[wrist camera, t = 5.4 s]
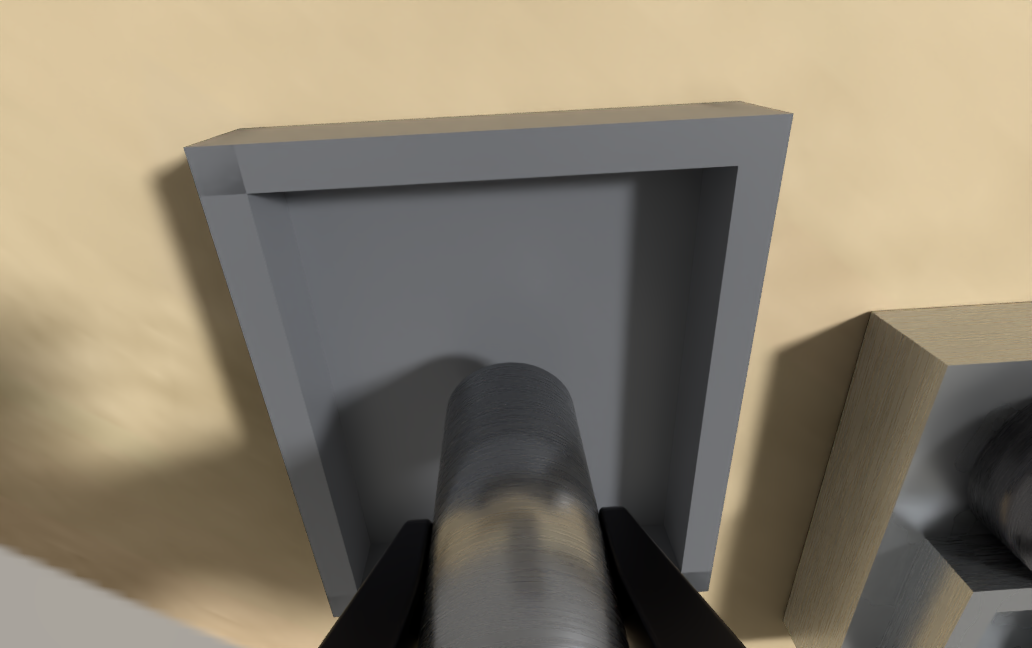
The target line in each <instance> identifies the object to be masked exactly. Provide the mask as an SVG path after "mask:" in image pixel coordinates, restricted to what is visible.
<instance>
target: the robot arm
mask: <svg viewBox="0 0 1032 648" xmlns="http://www.w3.org/2000/svg"><path fill="white" fill-rule="evenodd" d="M599 517H600V522H601V526H602V531H603V535H604V539H605V544H606V548H607V552H608V557H609V561H610V565H611V570H612V574H613V578H614V583H615V587H616V591H617V596H618V600H619V604H620V609H621V613H622V617H623V622H624V626H625V630H626V635H627V639H628V643H629V648H746V647H745V646H744V645H743V643H742V642H741V641H740V640H739V639H738V638H737V637H736V635H735V634H734V633H733V632H732V631H731V630H730V628H729V627H728V626H727V625H726V624H725V623H724V621H723V620H722V619H721V618H720V617H719V616H718V615H717V613H716V612H715V611H714V610H713V609H712V608H711V606H710V605H709V604H708V603H707V602H706V601H705V600H704V598H703V597H702V596H701V595H700V594H699V593H698V591H697V590H696V589H695V588H694V587H693V586H692V585H691V583H690V582H689V581H688V580H687V579H686V578H685V576H684V575H683V574H682V573H681V572H680V571H679V569H678V568H677V567H676V566H675V565H674V564H673V563H672V561H671V560H670V559H669V558H668V557H667V556H666V554H665V553H664V552H663V551H662V550H661V549H660V548H659V546H658V545H657V544H656V543H655V542H654V541H653V539H652V538H651V537H650V536H649V535H648V534H647V533H646V531H645V530H644V529H643V528H642V527H641V526H640V524H639V523H638V522H637V521H636V520H635V519H634V517H633V516H632V515H631V514H630V513H629V512H628V511H627V509H626V508H624V507H622V506H611V507H602V508H601V509H600V510H599ZM431 531H432V522H431V520H429V519H416V520H408V521H406V522H405V523H404V525H403V526H402V527H401V529H400V530H399V532H398V533H397V535H396V536H395V538H394V539H393V540H392V542H391V543H390V545H389V546H388V548H387V549H386V551H385V552H384V553H383V555H382V556H381V558H380V559H379V561H378V562H377V564H376V565H375V566H374V568H373V569H372V571H371V572H370V574H369V575H368V577H367V578H366V579H365V581H364V582H363V584H362V585H361V587H360V588H359V590H358V591H357V592H356V594H355V595H354V597H353V598H352V600H351V601H350V603H349V604H348V605H347V607H346V608H345V610H344V611H343V613H342V614H341V616H340V617H339V618H338V620H337V621H336V623H335V624H334V626H333V627H332V629H331V630H330V632H329V633H328V634H327V636H326V637H325V639H324V640H323V642H322V643H321V645H320V646H319V647H318V648H417V646H418V638H419V629H420V621H421V613H422V605H423V597H424V589H425V580H426V572H427V564H428V556H429V548H430V539H431Z"/></svg>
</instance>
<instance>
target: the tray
mask: <svg viewBox="0 0 1032 648" xmlns="http://www.w3.org/2000/svg"><path fill="white" fill-rule="evenodd" d="M792 119H793V113H789V112H784V111H780V110H776V109H771V108H767V107H763V106H758V105H754V104H750V103H745V102H741V101H731V102H713V103H695V104H676V105H658V106H640V107H622V108H604V109H586V110H568V111H549V112H531V113H513V114H495V115H477V116H459V117H441V118H422V119H404V120H386V121H368V122H350V123H332V124H314V125H295V126H277V127H259V128H241V129H237V130H234V131H231V132H228V133H225V134H222V135H219V136H216V137H213V138H210V139H207V140H204V141H201V142H198V143H195V144H192V145H189V146H186V147H183V148H184V151H185V154H186V157H187V160H188V163H189V167H190V170H191V173H192V176H193V179H194V182H195V185H196V188H197V192H198V195H199V198H200V201H201V204H202V207H203V210H204V213H205V217H206V220H207V223H208V226H209V229H210V232H211V235H212V238H213V242H214V245H215V248H216V251H217V254H218V257H219V260H220V263H221V267H222V270H223V273H224V276H225V279H226V282H227V285H228V288H229V292H230V295H231V298H232V301H233V304H234V307H235V310H236V313H237V317H238V320H239V323H240V326H241V329H242V332H243V335H244V338H245V342H246V345H247V348H248V351H249V354H250V357H251V360H252V363H253V367H254V370H255V373H256V376H257V379H258V382H259V385H260V388H261V392H262V395H263V398H264V401H265V404H266V407H267V410H268V413H269V417H270V420H271V423H272V426H273V429H274V432H275V435H276V438H277V442H278V445H279V448H280V451H281V454H282V457H283V460H284V464H285V467H286V470H287V473H288V476H289V479H290V482H291V485H292V489H293V492H294V495H295V498H296V501H297V504H298V507H299V510H300V514H301V517H302V520H303V523H304V526H305V529H306V532H307V535H308V539H309V542H310V545H311V548H312V551H313V554H314V557H315V560H316V564H317V567H318V570H319V573H320V576H321V579H322V582H323V585H324V589H325V592H326V595H327V598H328V601H329V604H330V607H331V610H332V614H333V617H340V616H341V614H342V613H343V611H344V610H345V608H346V607H347V605H348V604H349V603H350V601H351V600H352V598H353V597H354V595H355V594H356V592H357V591H358V590H359V588H360V587H361V585H362V584H363V582H364V581H365V579H366V578H367V577H368V575H369V574H370V572H371V571H372V569H373V568H374V566H375V565H376V564H377V562H378V561H379V559H380V558H381V556H382V555H383V553H384V552H385V551H386V549H387V548H388V546H389V545H390V543H391V542H392V540H393V539H394V538H395V536H396V535H397V533H398V532H399V530H400V529H401V527H402V526H403V525H404V523H405V522H406V521H408V520H416V519H429V520H431V522H432V523H433V515H434V507H435V499H436V490H437V482H438V474H439V466H440V458H441V450H442V441H443V433H444V425H445V417H446V409H447V405H448V401H449V399H450V397H451V394H452V393H453V391H454V390H455V388H456V387H457V386H458V385H459V384H460V382H461V381H463V380H464V379H465V378H466V377H467V376H469V375H470V374H472V373H473V372H475V371H477V370H479V369H481V368H484V367H487V366H490V365H494V364H498V363H506V362H517V363H525V364H530V365H534V366H537V367H540V368H542V369H544V370H546V371H548V372H550V373H551V374H553V375H554V376H556V377H557V378H558V379H559V380H560V381H561V382H562V383H563V384H564V385H565V387H566V388H567V390H568V391H569V393H570V395H571V398H572V400H573V404H574V408H575V413H576V417H577V421H578V426H579V430H580V435H581V439H582V443H583V448H584V452H585V456H586V461H587V465H588V469H589V474H590V478H591V482H592V487H593V491H594V495H595V500H596V504H597V509H598V513H599V510H600V509H601V508H602V507H611V506H622V507H624V508H626V509H627V511H628V512H629V513H630V514H631V515H632V516H633V517H634V519H635V520H636V521H637V522H638V523H639V524H640V526H641V527H642V528H643V529H644V530H645V531H646V533H647V534H648V535H649V536H650V537H651V538H652V539H653V541H654V542H655V543H656V544H657V545H658V546H659V548H660V549H661V550H662V551H663V552H664V553H665V554H666V556H667V557H668V558H669V559H670V560H671V561H672V563H673V564H674V565H675V566H676V567H677V568H678V569H679V571H680V572H681V573H682V574H683V575H684V576H685V578H686V579H687V580H688V581H689V582H690V583H691V585H692V586H693V587H694V588H695V589H696V590H697V591H698V592H702V591H708V589H709V583H710V578H711V572H712V567H713V561H714V555H715V550H716V544H717V539H718V533H719V527H720V522H721V516H722V511H723V505H724V499H725V494H726V488H727V483H728V477H729V471H730V466H731V460H732V455H733V449H734V443H735V438H736V432H737V427H738V421H739V415H740V410H741V404H742V399H743V393H744V387H745V382H746V376H747V371H748V365H749V359H750V354H751V348H752V343H753V337H754V332H755V326H756V320H757V315H758V309H759V304H760V298H761V292H762V287H763V281H764V276H765V270H766V264H767V259H768V253H769V248H770V242H771V236H772V231H773V225H774V220H775V214H776V208H777V203H778V197H779V192H780V186H781V180H782V175H783V169H784V164H785V158H786V152H787V147H788V141H789V136H790V130H791V124H792Z"/></svg>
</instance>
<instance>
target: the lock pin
mask: <svg viewBox="0 0 1032 648" xmlns="http://www.w3.org/2000/svg"><path fill="white" fill-rule="evenodd" d="M417 648H629V643H628V639H627V635H626V630H625V626H624V622H623V617H622V613H621V609H620V604H619V600H618V596H617V591H616V587H615V583H614V578H613V574H612V570H611V565H610V561H609V557H608V552H607V548H606V544H605V539H604V535H603V531H602V526H601V522H600V517H599V513H598V509H597V504H596V500H595V495H594V491H593V487H592V482H591V478H590V474H589V469H588V465H587V461H586V456H585V452H584V448H583V443H582V439H581V435H580V430H579V426H578V421H577V417H576V413H575V408H574V404H573V400H572V398H571V395H570V393H569V391H568V390H567V388H566V387H565V385H564V384H563V383H562V382H561V381H560V380H559V379H558V378H557V377H556V376H554V375H553V374H551V373H550V372H548V371H546V370H544V369H542V368H540V367H537V366H534V365H530V364H525V363H517V362H506V363H498V364H494V365H490V366H487V367H484V368H481V369H479V370H477V371H475V372H473V373H472V374H470V375H469V376H467V377H466V378H465V379H464V380H463V381H461V382H460V384H459V385H458V386H457V387H456V388H455V390H454V391H453V393H452V394H451V397H450V399H449V401H448V405H447V409H446V417H445V425H444V433H443V441H442V450H441V458H440V466H439V474H438V482H437V490H436V499H435V507H434V515H433V523H432V531H431V539H430V548H429V556H428V564H427V572H426V580H425V589H424V597H423V605H422V613H421V621H420V629H419V638H418V646H417Z"/></svg>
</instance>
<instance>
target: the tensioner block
mask: <svg viewBox="0 0 1032 648" xmlns="http://www.w3.org/2000/svg"><path fill="white" fill-rule="evenodd" d="M783 622H784V624H785V626H786V628H787V630H788V632H789V634H790V636H791V638H792V640H793V642H794V644H795V646H796V648H1032V302H1021V303H1004V304H988V305H972V306H955V307H939V308H923V309H906V310H890V311H874V312H871V315H870V319H869V322H868V326H867V329H866V333H865V336H864V340H863V343H862V346H861V350H860V353H859V357H858V360H857V364H856V367H855V371H854V374H853V378H852V381H851V385H850V388H849V392H848V395H847V399H846V402H845V406H844V409H843V413H842V416H841V420H840V423H839V427H838V430H837V434H836V437H835V441H834V444H833V448H832V451H831V455H830V458H829V462H828V465H827V468H826V472H825V475H824V479H823V482H822V486H821V489H820V493H819V496H818V500H817V503H816V507H815V510H814V514H813V517H812V521H811V524H810V528H809V531H808V535H807V538H806V542H805V545H804V549H803V552H802V556H801V559H800V563H799V566H798V570H797V573H796V577H795V580H794V583H793V587H792V590H791V594H790V597H789V601H788V604H787V608H786V611H785V615H784V618H783Z"/></svg>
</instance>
